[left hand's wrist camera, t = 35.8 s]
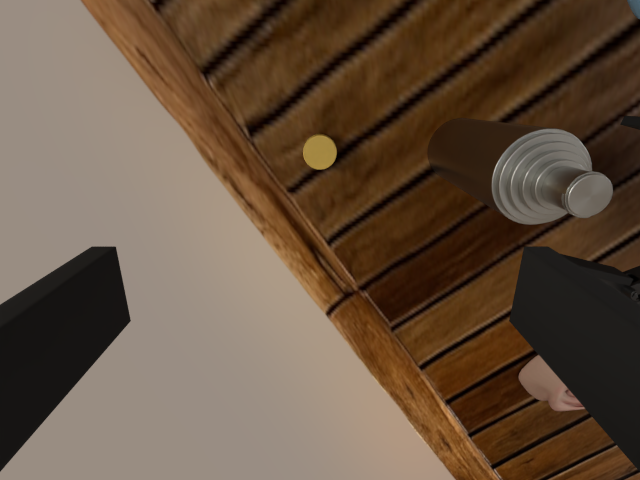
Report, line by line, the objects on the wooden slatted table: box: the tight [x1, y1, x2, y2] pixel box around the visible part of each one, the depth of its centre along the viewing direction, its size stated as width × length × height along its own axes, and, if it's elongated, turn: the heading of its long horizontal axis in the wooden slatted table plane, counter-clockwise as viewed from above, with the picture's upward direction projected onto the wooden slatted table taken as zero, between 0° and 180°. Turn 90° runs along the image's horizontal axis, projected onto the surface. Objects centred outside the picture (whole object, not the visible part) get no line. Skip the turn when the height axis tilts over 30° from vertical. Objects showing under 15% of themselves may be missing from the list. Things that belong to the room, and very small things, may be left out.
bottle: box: [428, 118, 613, 224], centre depth 36 cm, size 8×8×25 cm
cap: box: [303, 133, 337, 170], centre depth 46 cm, size 4×4×2 cm
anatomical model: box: [519, 355, 585, 411], centre depth 57 cm, size 13×4×12 cm
